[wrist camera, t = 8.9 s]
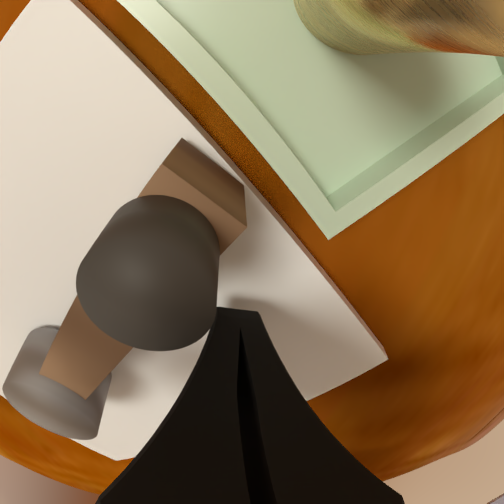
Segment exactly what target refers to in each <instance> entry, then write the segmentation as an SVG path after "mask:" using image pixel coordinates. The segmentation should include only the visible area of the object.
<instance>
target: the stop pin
mask: <svg viewBox="0 0 504 504" xmlns="http://www.w3.org/2000/svg"><path fill="white" fill-rule="evenodd" d="M293 1H294V6H295V9H296V12H297V14H298V16H299V18H300V20H301V21H302V23H303V24H304V25H305V27H306V28H307V29H308V30H309V31H310V32H311V33H312V34H313V35H314V36H315V37H316V38H317V39H319V40H320V41H321V42H323V43H324V44H326V45H327V46H329V47H331V48H333V49H335V50H338V51H341V52H344V53H348V54H353V55H374V54H388V53H413V52H443V53H467V54H480V55H491V56H500V57H504V0H293Z"/></svg>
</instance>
